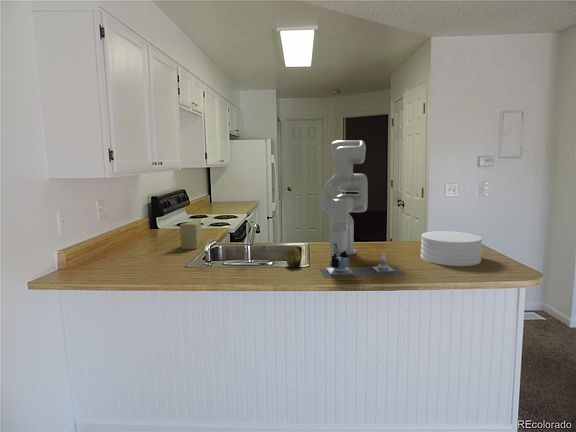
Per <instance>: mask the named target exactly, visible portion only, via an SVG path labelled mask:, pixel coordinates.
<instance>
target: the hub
mask: <svg viewBox="0 0 576 432" xmlns="http://www.w3.org/2000/svg"><path fill="white" fill-rule="evenodd" d="M339 260H342V259H339ZM349 268H350V267H349V266H348V267H346V268H345V269H336V268H330V267H326V270H327V271H328V273H329V274H330V276H343V275H353V272H352V271H351V270H350V269H349Z"/></svg>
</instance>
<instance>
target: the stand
mask: <svg viewBox="0 0 576 432" xmlns="http://www.w3.org/2000/svg"><path fill="white" fill-rule="evenodd" d="M386 255H387V254H386V252H381V253H380V263H379V264H378V265H377V266H371V267H372V269H373V270H374V271H375V272H376V273H395V270H393V269H392V268H391V267H392V266H390V265H389V264H387V262H386V260H387V258H386V257H387V256H386Z"/></svg>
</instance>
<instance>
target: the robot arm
mask: <svg viewBox="0 0 576 432" xmlns="http://www.w3.org/2000/svg"><path fill="white" fill-rule="evenodd" d="M366 146H367V145H366V143H365V141H364V140H361V139H357V140H356V139H355V140H352V139H351V140H349V139H348V140H335V141H333V142H331V144H330V152H331V155H332V157H333V167H332V168H333V169H332V176H331V178H329V179H328V180H327V182H326V183H325V185H324V186H323V189H322V195H321V208H322V211H323V212H324V213H326V214H327V213H328V214H330V230H331V232H330V237H329V238H330V240H329V252H330V257H331V259H332V267H335V268H338V267H339V259H338V257H342V258H348V256H352V255H355V254H357V249H356V248H355V249H354V235H355V234H354V233H355V232H354V231H355V230H354V229H355V228H354V226H355V225H354V224H355V222H354V218H353V217H352V215H351V214H350V213H365V212H366V211H367V209H368V200H369V197H368V193H369V191H368V186H369V182H368V177H367V175H366V174H365V173H354V165H362V164H363V163H364V162H365V159H366V151H367V150H366V149H367V147H366ZM335 187H336V189H337V190H338V191H339V192H343V194H342V193H341V194H338V195H336V196H334V195H333V196H329V194H330V192H331V191H332V190H333V189H334V188H335ZM344 192H347V193H344ZM349 192H351V193H352V192H353V193H354V194H353V193H352V194H351V193H349ZM348 193H349V194H348ZM356 193H357V194H356Z"/></svg>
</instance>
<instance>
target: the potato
mask: <svg viewBox="0 0 576 432" xmlns="http://www.w3.org/2000/svg"><path fill="white" fill-rule="evenodd" d="M285 260H286V264H287V266H288V267H289V268H292V269H298V268H299V267H301V263H302V254H301V252H300V250H299V249H298V248H295V247H291V248H289V249H288V250H286V253H285Z"/></svg>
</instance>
